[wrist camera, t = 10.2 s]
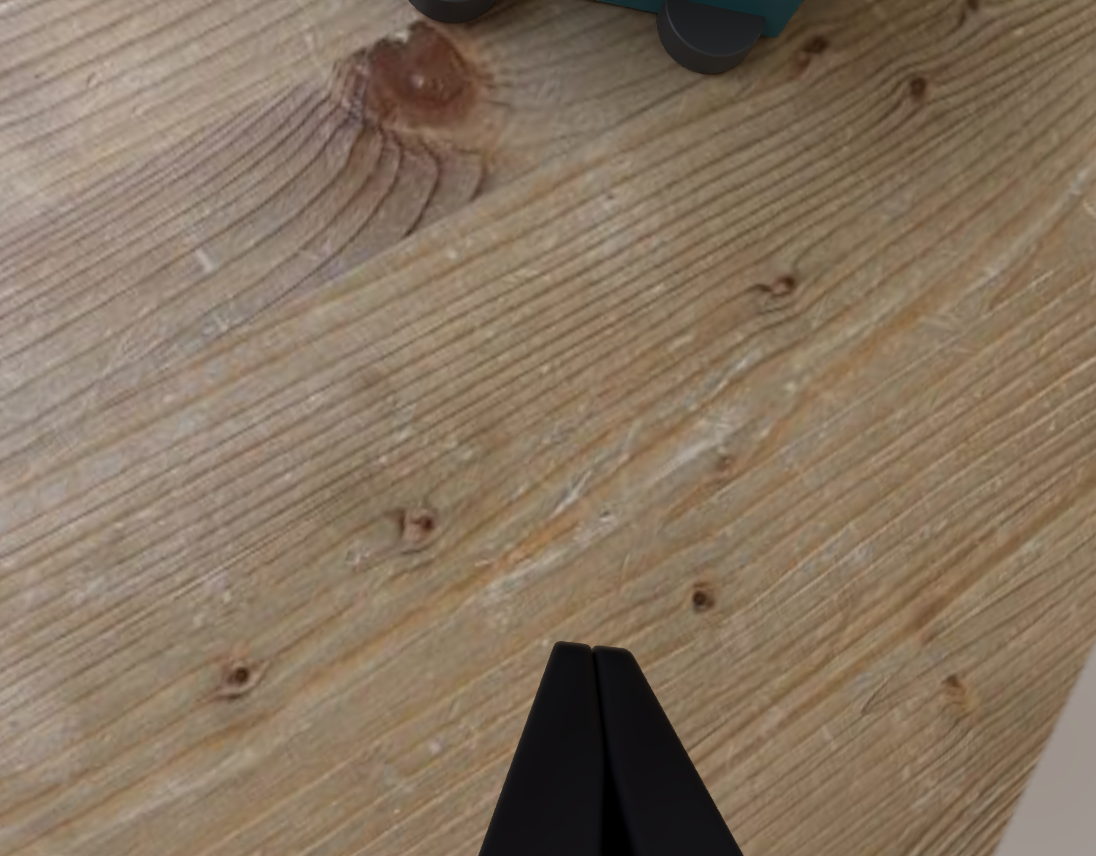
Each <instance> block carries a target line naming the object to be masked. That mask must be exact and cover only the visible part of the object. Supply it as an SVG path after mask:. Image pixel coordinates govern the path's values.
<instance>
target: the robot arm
mask: <svg viewBox="0 0 1096 856" xmlns="http://www.w3.org/2000/svg"><path fill="white" fill-rule="evenodd" d="M478 856H743V854H742V852H741V850H740V848H739V847H738V845H737V843H736V841H735V839H734V838H733V836H732V834H731V832H730V830H729V828H728V827H727V825H726V823H725V821H724V819H723V818H722V816H721V814H720V812H719V810H718V809H717V807H716V805H715V803H714V801H713V799H712V798H711V796H710V794H709V792H708V790H707V789H706V787H705V785H704V783H703V781H702V779H701V778H700V776H699V774H698V772H697V770H696V769H695V767H694V765H693V763H692V761H691V760H690V758H689V756H688V754H687V752H686V750H685V749H684V747H683V745H682V743H681V741H680V740H679V738H678V736H677V734H676V732H675V730H674V729H673V727H672V725H671V723H670V721H669V720H668V718H667V716H666V714H665V712H664V711H663V709H662V707H661V705H660V703H659V701H658V700H657V698H656V696H655V694H654V692H653V691H652V689H651V687H650V685H649V683H648V682H647V680H646V678H645V676H644V674H643V672H642V671H641V669H640V667H639V665H638V663H637V662H636V660H635V658H634V656H633V655H632V653H631V652H629V651H628V650H627V649H624V648H617V647H608V646H595V647H593V648H592V649H591V647H590V646H589V645H587V644H582V643H573V642H564V641H559V642H556V643H555V645H554V647H553V649H552V652H551V655H550V658H549V660H548V663H547V666H546V669H545V672H544V674H543V677H542V680H541V683H540V685H539V688H538V691H537V694H536V697H535V699H534V702H533V705H532V708H531V710H530V713H529V716H528V719H527V722H526V724H525V727H524V730H523V733H522V736H521V738H520V741H519V744H518V747H517V749H516V752H515V755H514V758H513V761H512V763H511V766H510V769H509V772H508V774H507V777H506V780H505V783H504V786H503V788H502V791H501V794H500V797H499V799H498V802H497V805H496V808H495V811H494V813H493V816H492V819H491V822H490V825H489V827H488V830H487V833H486V836H485V838H484V841H483V844H482V847H481V850H480V852H479V855H478Z"/></svg>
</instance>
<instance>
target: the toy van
mask: <svg viewBox="0 0 1096 856" xmlns="http://www.w3.org/2000/svg"><path fill="white" fill-rule="evenodd" d="M409 1H410V2H411V3H412V5H413V6H415V7H416V8H417V9H418V10H419V11H421V12H422V13H424V14H425V15H427V16H429V17H431V18H434V19H436V20H440V21H445V22H464V21H468V20H471V19H474V18H476V17H478V16H480V15H482V14H483V13H485V12H486V11H487V10H488V9H489V8H490V7H491V6H492V5H493V4H494V3H495V1H496V0H409ZM597 1H601V2H606V3H611V4H616V5H621V6H625V7H630V8H635V9H640V10H644V11H649V12H654V13H657V29H658V33H659V37H660V39H661V42H662V44H663V46H664V47H665V49H666V50H667V52H668V53H669V54H670V55H671V57H672V58H673V59H675V60H676V61H677V62H678V63H679V64H681V65H682V66H684V67H686V68H688V69H690V70H693V71H696V72H699V73H706V74H714V73H720V72H724V71H727V70H729V69H732V68H733V67H735V66H737V65H738V64H739V63H740V62H742V61H743V59H744V58H745V57H746V56H747V54H748V53H749V51H750V50H751V48H752V47H753V45H754V44H755V43H756V41H757V40H758V38H759V37H760V35H764V36H769V37H774V38H775V37H778V35H779V34H780V32H781V31H782V30H783V28H784V27H785V25H786V24H787V23H788V21H789V20H790V18H791V17H792V16H793V14H794V13H795V11H796V10H797V9H798V7H799V6H800V4H801V3H802V2H803V0H597Z"/></svg>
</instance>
